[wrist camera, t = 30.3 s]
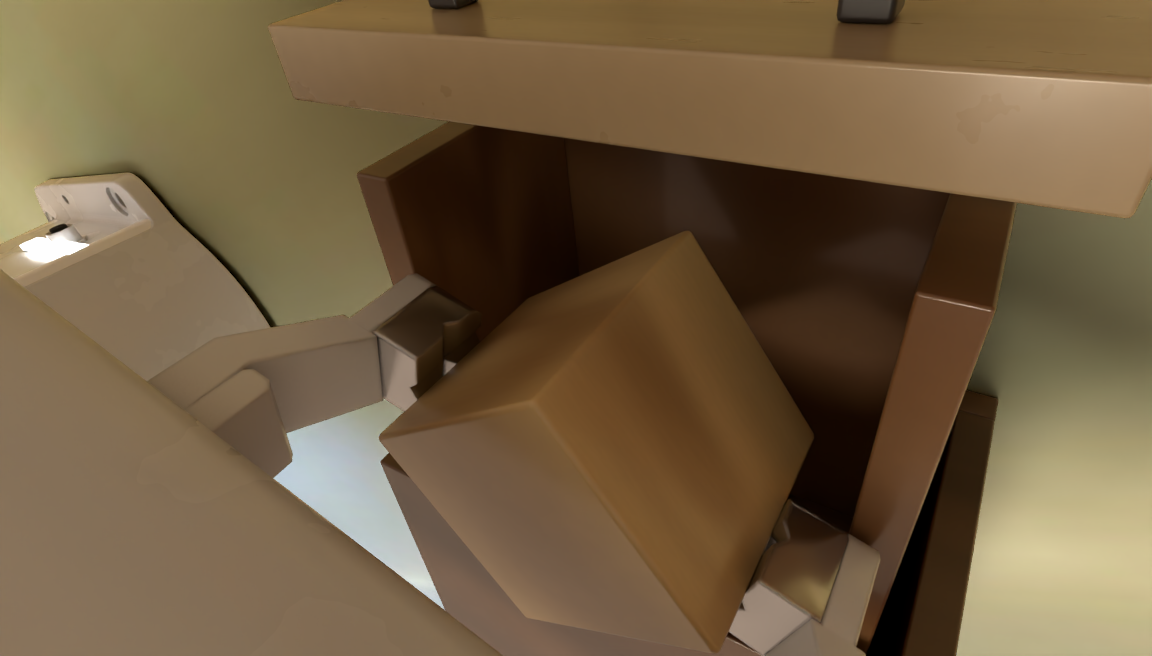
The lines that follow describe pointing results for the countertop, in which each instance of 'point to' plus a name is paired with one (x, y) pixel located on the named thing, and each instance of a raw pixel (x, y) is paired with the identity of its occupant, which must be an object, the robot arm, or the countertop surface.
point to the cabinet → (897, 650)
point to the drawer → (756, 178)
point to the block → (615, 450)
